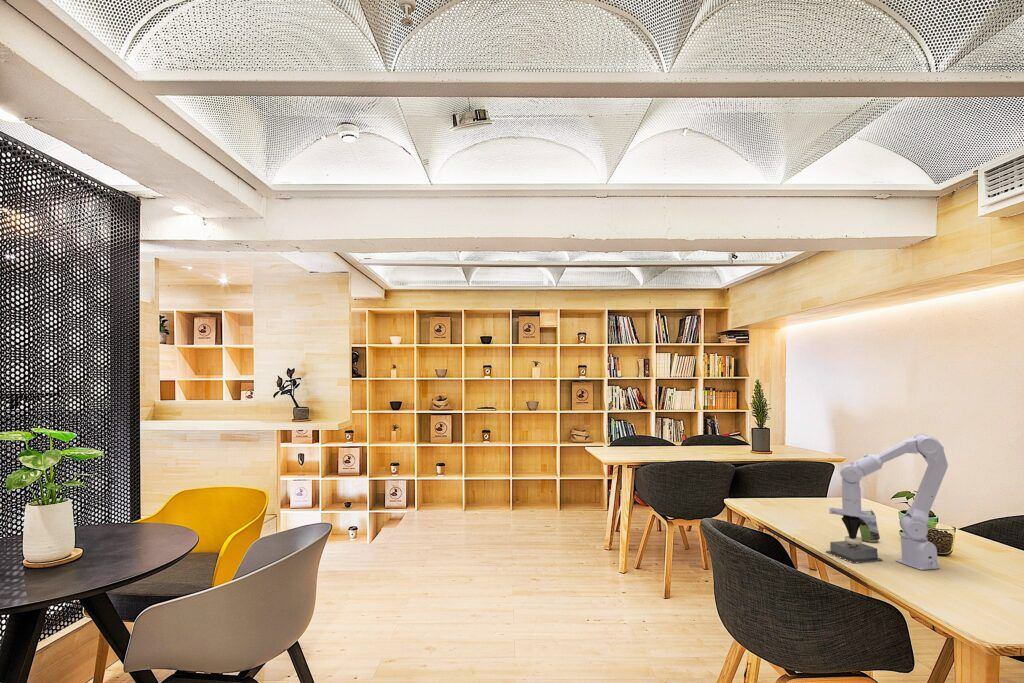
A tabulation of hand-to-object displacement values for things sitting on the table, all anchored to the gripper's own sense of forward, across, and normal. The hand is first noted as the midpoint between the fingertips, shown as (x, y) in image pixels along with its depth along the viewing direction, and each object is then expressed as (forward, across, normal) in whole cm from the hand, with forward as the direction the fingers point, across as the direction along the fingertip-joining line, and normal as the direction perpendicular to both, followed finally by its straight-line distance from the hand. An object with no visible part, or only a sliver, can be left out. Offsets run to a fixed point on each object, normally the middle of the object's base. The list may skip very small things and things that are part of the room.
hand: (852, 538), depth 192 cm
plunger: (+5, 0, 0) cm, 5 cm away
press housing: (+6, 0, 0) cm, 6 cm away
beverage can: (+7, +6, -26) cm, 27 cm away
